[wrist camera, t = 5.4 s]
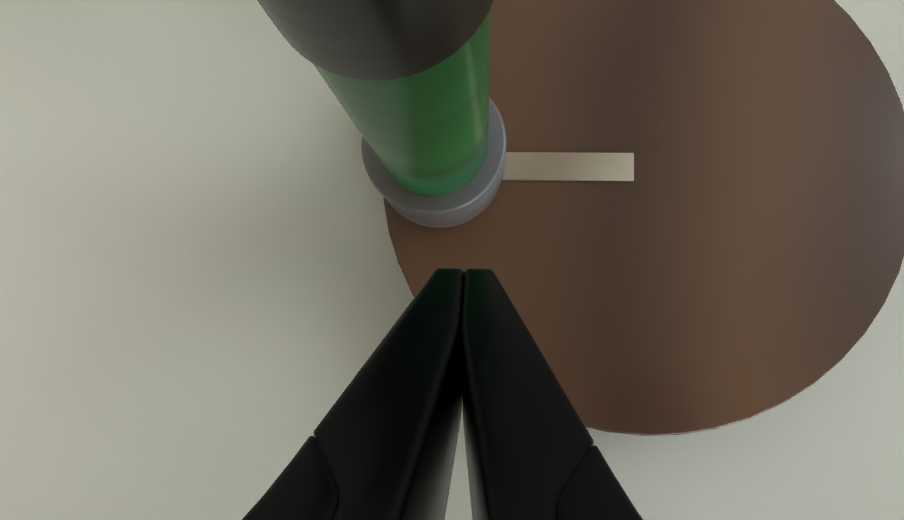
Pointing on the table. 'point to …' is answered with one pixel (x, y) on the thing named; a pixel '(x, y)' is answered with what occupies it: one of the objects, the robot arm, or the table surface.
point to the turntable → (635, 182)
